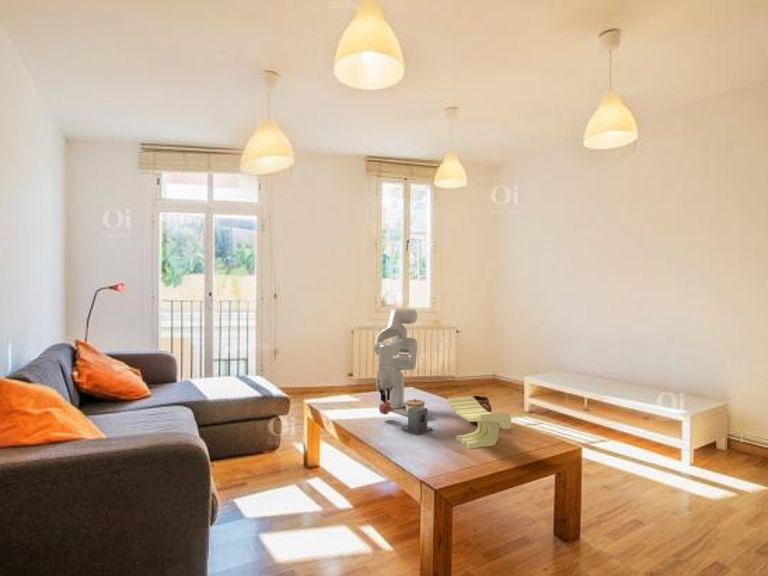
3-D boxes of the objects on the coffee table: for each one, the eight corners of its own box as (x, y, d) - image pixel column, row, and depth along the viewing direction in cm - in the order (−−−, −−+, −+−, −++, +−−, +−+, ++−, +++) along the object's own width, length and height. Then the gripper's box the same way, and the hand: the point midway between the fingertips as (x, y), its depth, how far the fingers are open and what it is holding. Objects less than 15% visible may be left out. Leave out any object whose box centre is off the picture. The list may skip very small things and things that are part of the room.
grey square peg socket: (402, 430, 229) (402, 408, 229) (418, 425, 237) (418, 404, 237) (417, 435, 222) (417, 413, 222) (432, 430, 230) (433, 408, 230)
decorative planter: (499, 428, 234) (500, 401, 234) (479, 430, 230) (479, 403, 230) (479, 417, 253) (479, 392, 253) (460, 419, 249) (460, 394, 249)
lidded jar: (421, 419, 248) (422, 402, 248) (403, 417, 252) (403, 400, 252) (426, 414, 258) (426, 397, 258) (408, 412, 262) (408, 396, 262)
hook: (378, 414, 245) (379, 391, 245) (388, 412, 250) (388, 389, 250) (405, 423, 231) (405, 398, 231) (414, 420, 236) (414, 395, 236)
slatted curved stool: (510, 450, 203) (511, 411, 203) (480, 455, 197) (480, 414, 197) (474, 430, 231) (475, 395, 231) (447, 433, 226) (447, 398, 225)
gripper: (391, 364, 255) (390, 396, 255) (370, 367, 244) (369, 401, 244) (400, 366, 249) (400, 399, 250) (379, 369, 238) (379, 404, 238)
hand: (385, 400), depth 247 cm, fingers closed on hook, 2 cm apart
